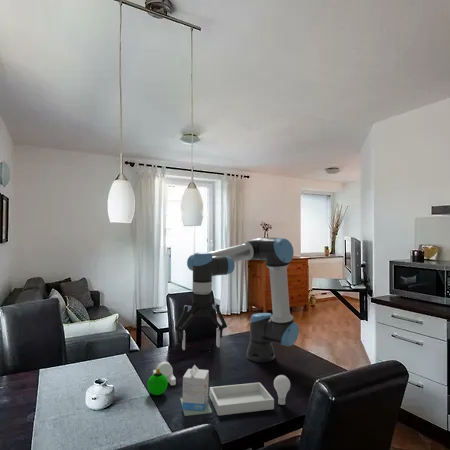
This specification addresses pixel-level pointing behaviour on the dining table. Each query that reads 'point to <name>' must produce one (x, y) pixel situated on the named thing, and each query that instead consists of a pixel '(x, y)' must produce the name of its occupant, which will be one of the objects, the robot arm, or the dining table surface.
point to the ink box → (195, 389)
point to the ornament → (157, 383)
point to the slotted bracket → (166, 372)
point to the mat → (195, 412)
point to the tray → (240, 398)
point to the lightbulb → (281, 388)
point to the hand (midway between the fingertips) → (200, 347)
